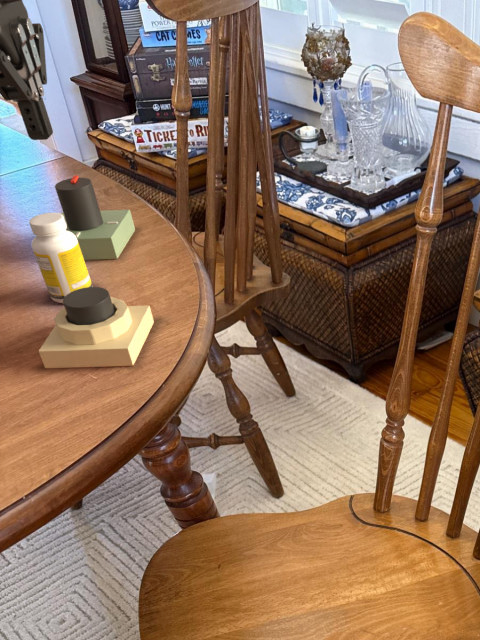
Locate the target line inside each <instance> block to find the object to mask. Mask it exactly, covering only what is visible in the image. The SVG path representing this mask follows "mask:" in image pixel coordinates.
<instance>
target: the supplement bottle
mask: <svg viewBox="0 0 480 640" xmlns="http://www.w3.org/2000/svg"><path fill="white" fill-rule="evenodd" d="M28 223H29V226H30V230H31V231H32V234H33V235H34V236H35V237H34V238H33V239H32V241H31V248H32V252H33V254H34V257H35V259H36V263H37V265H38V268H39V270H40V274H41V275H42V278H43V281H44V283H45V286H46V290H47V292H48V295H49V296H50V298H51V300H52V301H53V302H55V303H58V304H63V299H64V297H65V296H66V295H68V294H69V293H71V292H73V291H75V290H78V289H82V288H87V287H94V286H93V282H92V280H91V276H90V273H89V270H88V268H87V265H86V262H85V261H86V260H84V258H83V255H82V252H81V249H80V246H79V243H78V240H77V238H76V236H75V235H74V234H73V233H72V232H70V231H67V230H66V228H67V226H66V222H65V220H64V217H63V215H62V214H61V212H60V213H59V212H45V213H41V214H38V215H35V216H32V217H31V218H30V219H29V221H28Z"/></svg>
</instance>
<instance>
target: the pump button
mask: <svg viewBox="0 0 480 640" xmlns="http://www.w3.org/2000/svg"><path fill="white" fill-rule="evenodd" d="M110 297H111V296H110V293H109V290H108V289H106V288H104V287H100V286H93V287H87V288H82V289H78V290H75V291H73V292H71V293H69V294H68V295H66V296H65V297H64V299H63V303H62V304H63V308H64V307H65V309H66V312H67V315H68V318H69V321H70V322H71V323H72V324H75V325H92V324H96V323H100V322H103V321H105V320H107V319H109V318H110V317H112V316H114V314H115V311H114V308H113V304H112V301H111V298H110Z"/></svg>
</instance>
